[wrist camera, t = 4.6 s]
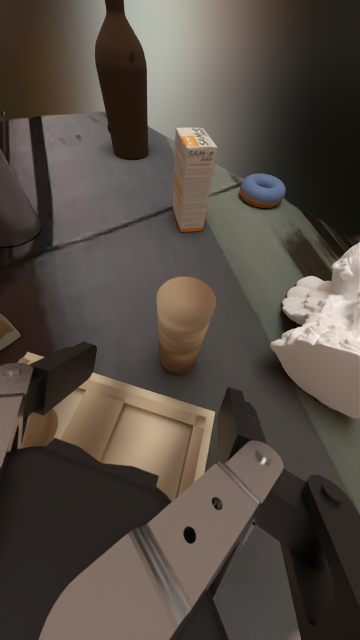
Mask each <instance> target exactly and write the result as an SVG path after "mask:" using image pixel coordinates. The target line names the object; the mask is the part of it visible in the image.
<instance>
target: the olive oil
mask: <svg viewBox="0 0 360 640" xmlns="http://www.w3.org/2000/svg"><path fill="white" fill-rule="evenodd" d="M105 4H106V17H105V20H104V22H103V25H102V27H101V30H100V32H99V35H98V37H97V40H96V45H95V60H96V68H97V73H98V77H99V82H100V87H101V91H102V96H103V101H104V105H105V110H106V115H107V120H108V130H109V132H110V134H111V139H112V144H113V149H114V153H115V155H117V156H118V157H120V158H123V159H130V160H135V159H141V158H144V157H146V156H147V155H148V125H147V68H146V60H145V56H144V52H143V48H142V46H141V44H140V42H139V40H138V38H137V36H136V35H135V33H134V31H133V30H132V28H131V26H130V24H129V23H128V21H127V19H126V16H125V13H124V1H123V0H105Z"/></svg>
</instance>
